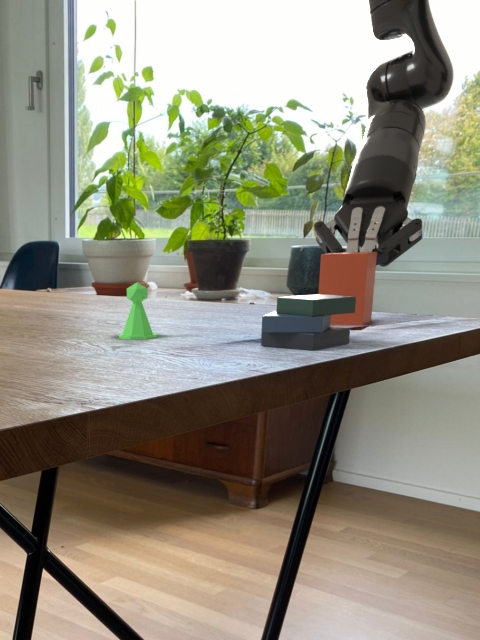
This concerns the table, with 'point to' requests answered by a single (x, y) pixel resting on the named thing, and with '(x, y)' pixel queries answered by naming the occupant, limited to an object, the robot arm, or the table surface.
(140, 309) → the game piece
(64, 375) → the table surface
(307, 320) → the block pile
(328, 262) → the tall orange pillar
